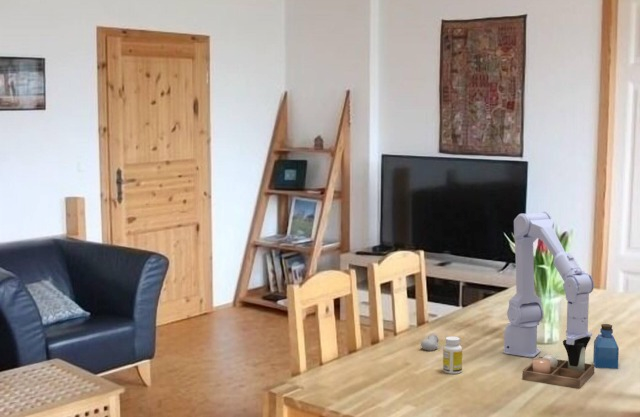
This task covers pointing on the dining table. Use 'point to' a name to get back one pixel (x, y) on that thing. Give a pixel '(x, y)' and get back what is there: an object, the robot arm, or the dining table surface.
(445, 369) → the supplement bottle
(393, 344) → the dining table surface
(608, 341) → the perfume bottle
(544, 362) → the pink rounded cylinder
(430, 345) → the smooth white sculpture
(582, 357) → the sage green cylinder
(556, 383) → the wooden compartment tray
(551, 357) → the egg
